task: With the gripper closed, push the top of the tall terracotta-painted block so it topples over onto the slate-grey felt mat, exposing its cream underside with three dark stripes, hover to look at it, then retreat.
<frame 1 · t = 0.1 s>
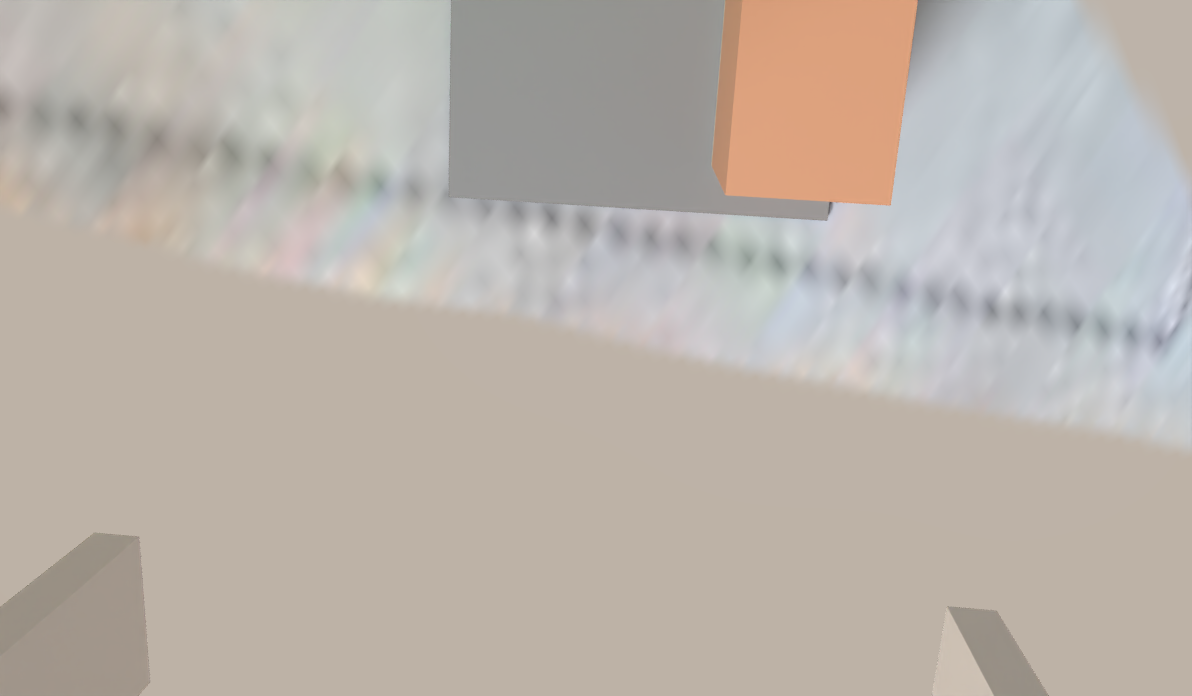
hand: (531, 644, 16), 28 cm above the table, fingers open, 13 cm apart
mat: (644, 73, 40), on the table
block: (780, 81, 40), resting on mat
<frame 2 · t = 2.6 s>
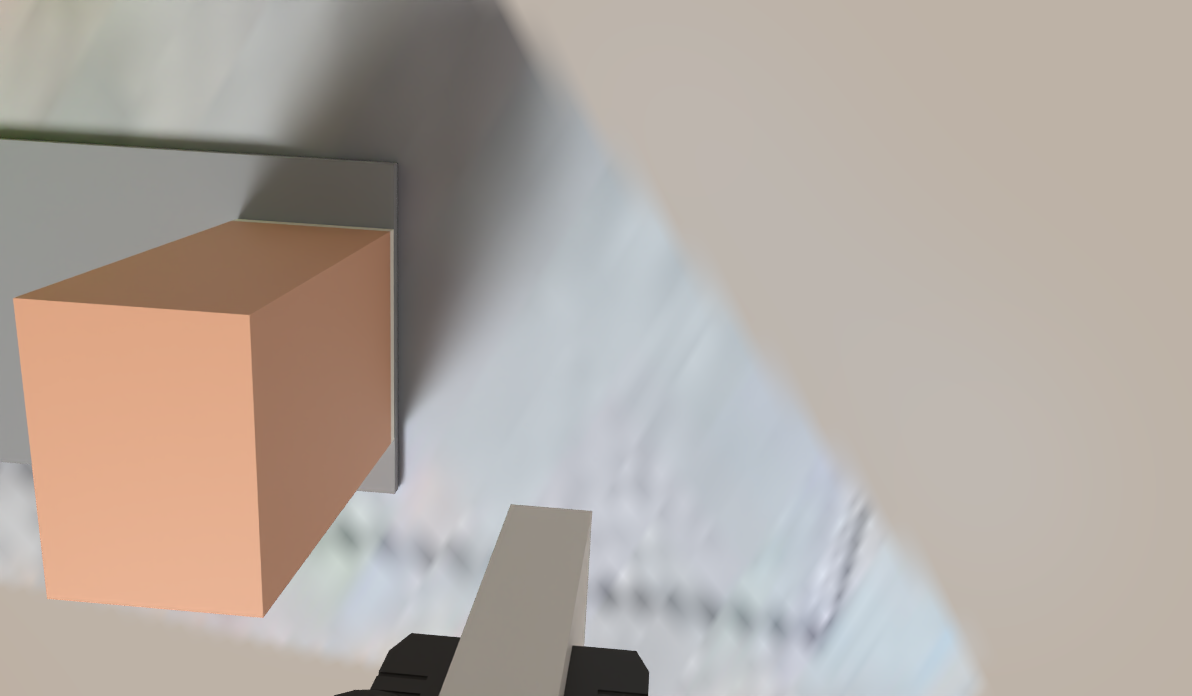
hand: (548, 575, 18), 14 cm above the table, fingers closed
mat: (158, 316, 32), on the table
block: (317, 331, 32), resting on mat
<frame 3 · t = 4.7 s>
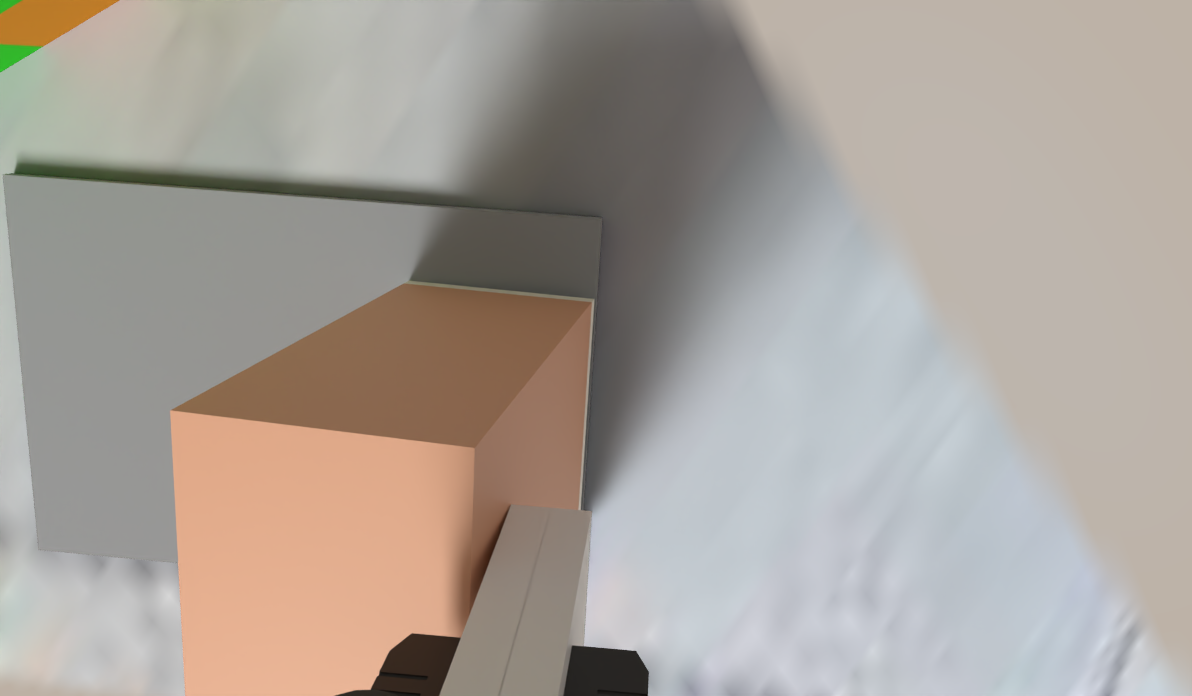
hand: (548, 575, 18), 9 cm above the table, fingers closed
mat: (305, 391, 28), on the table
block: (495, 415, 27), point 1 cm above the table, tilted 5°, touching gripper, mat
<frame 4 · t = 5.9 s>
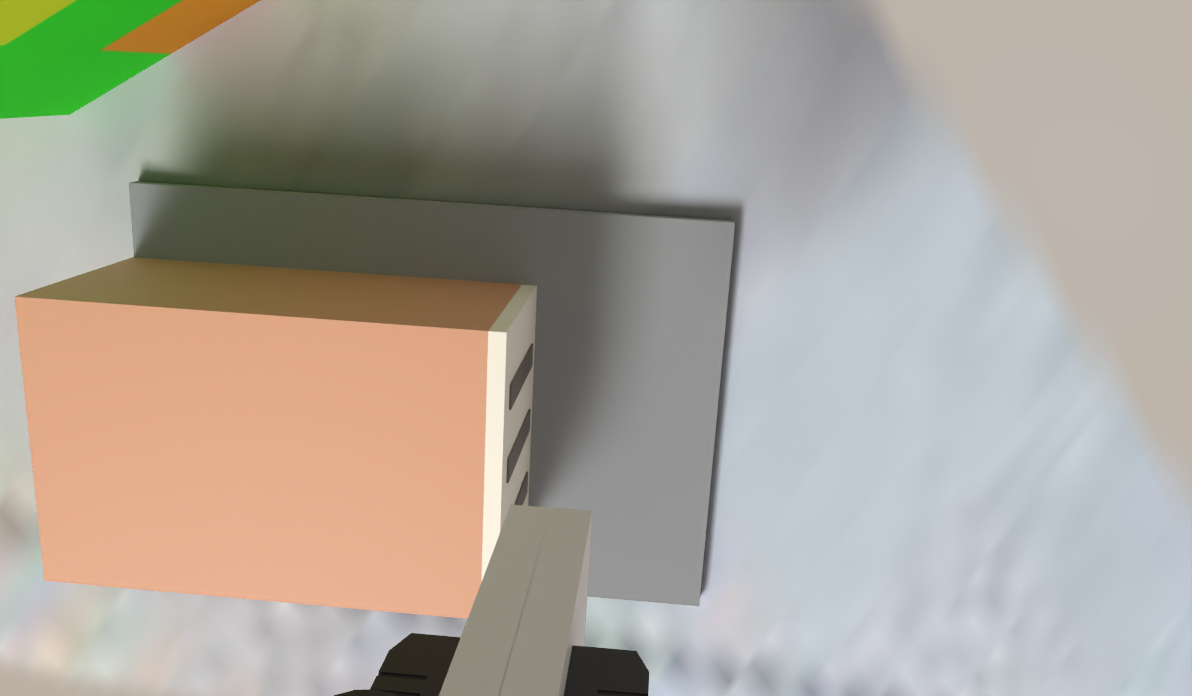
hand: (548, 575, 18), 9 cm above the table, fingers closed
mat: (428, 397, 27), on the table
block: (518, 443, 24), point 3 cm above the table, tilted 90°, touching mat
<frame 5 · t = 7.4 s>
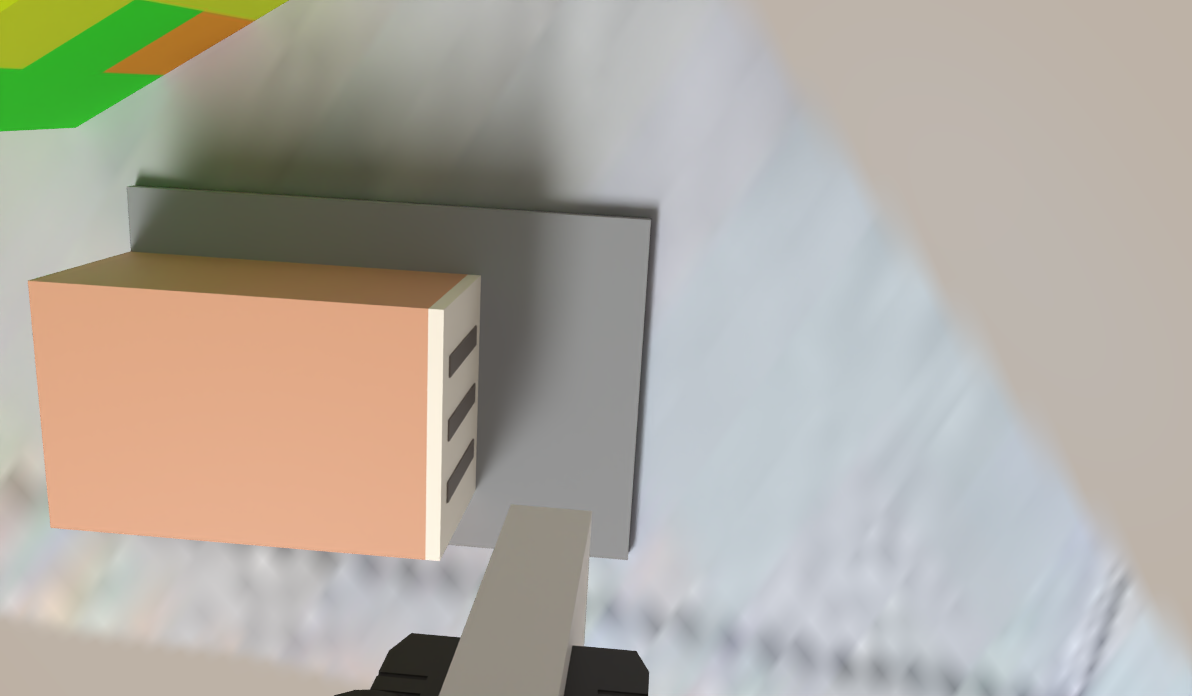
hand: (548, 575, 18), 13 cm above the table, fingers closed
mat: (388, 375, 31), on the table
block: (461, 410, 28), point 3 cm above the table, tilted 90°, touching mat
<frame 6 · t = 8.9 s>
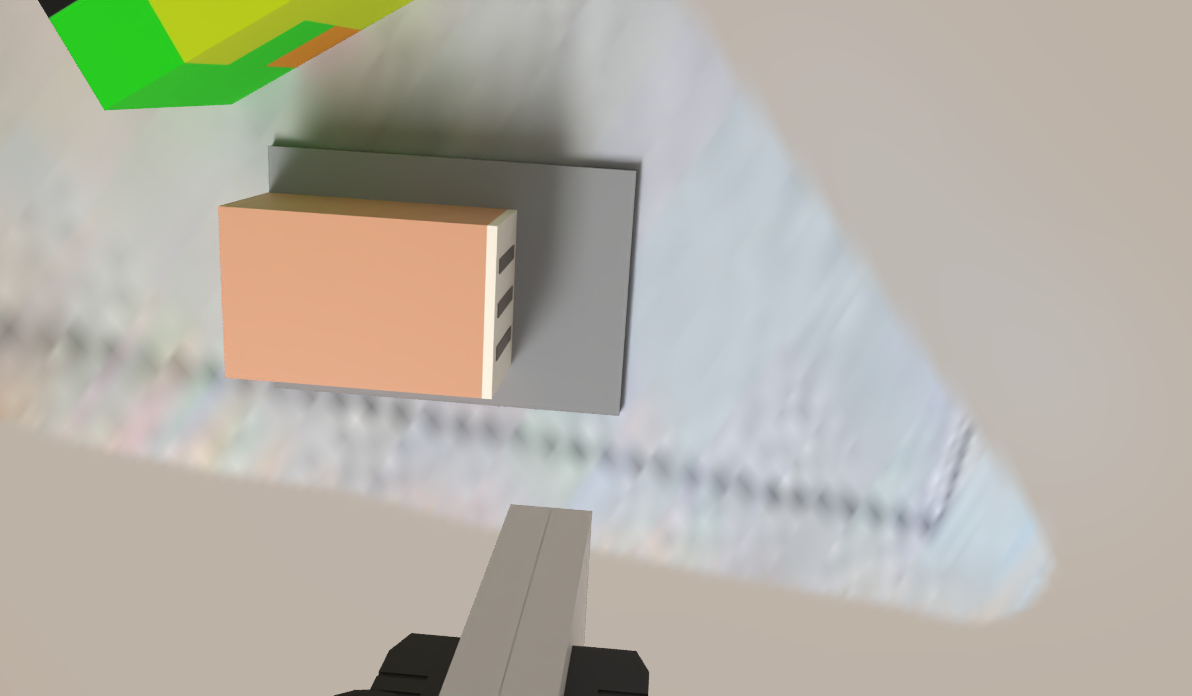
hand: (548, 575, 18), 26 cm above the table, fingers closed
mat: (449, 282, 44), on the table
block: (504, 301, 41), point 3 cm above the table, tilted 90°, touching mat
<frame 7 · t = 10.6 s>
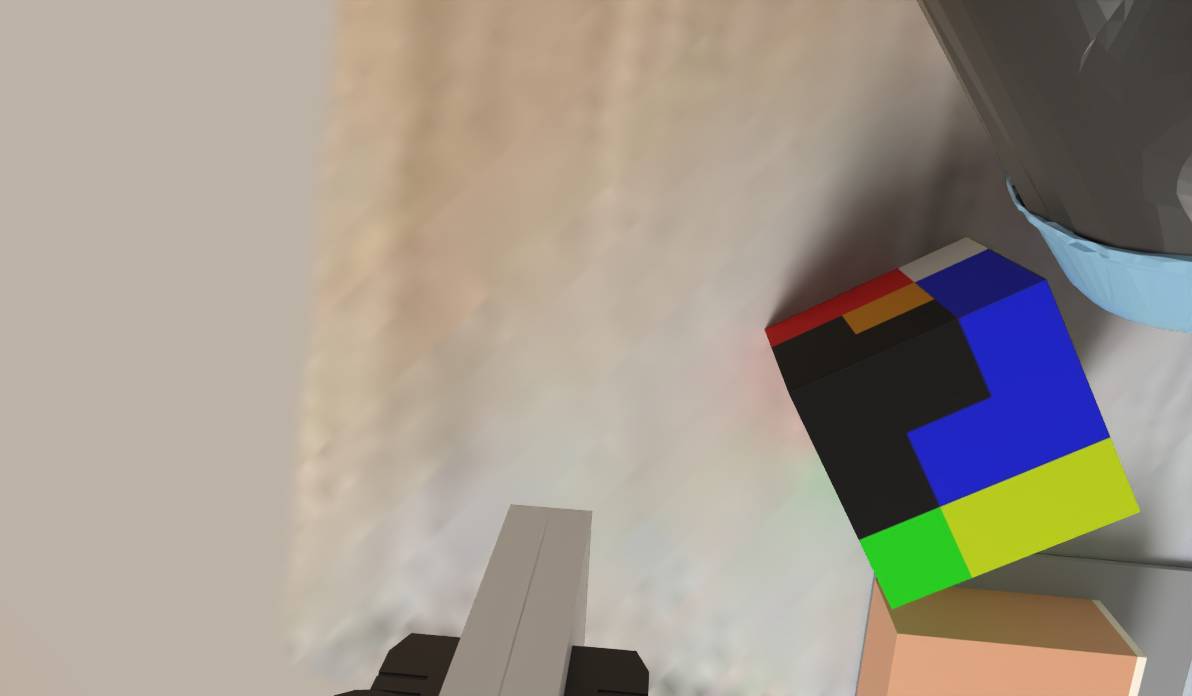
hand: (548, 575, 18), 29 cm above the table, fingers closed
mat: (1022, 652, 50), on the table
puzzle toy: (903, 375, 47), on the table
block: (1106, 692, 47), point 3 cm above the table, tilted 90°, touching mat
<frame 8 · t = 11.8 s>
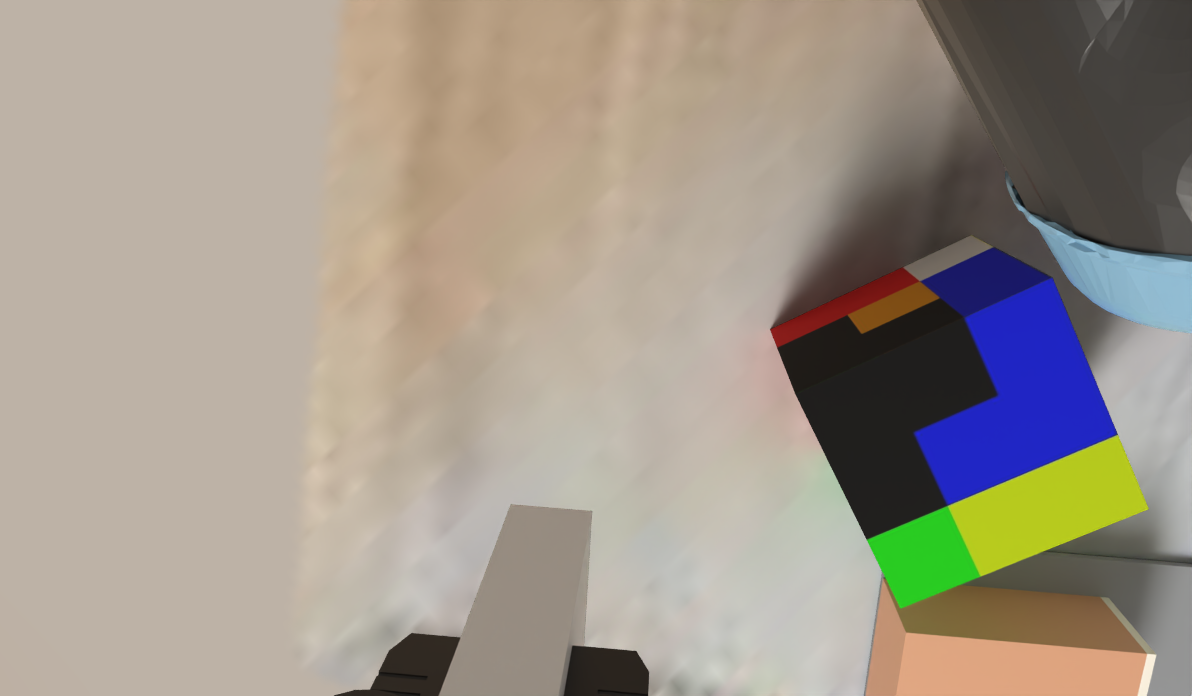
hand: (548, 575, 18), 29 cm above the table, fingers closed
mat: (1031, 650, 50), on the table
puzzle toy: (909, 373, 47), on the table
block: (1116, 689, 47), point 3 cm above the table, tilted 90°, touching mat
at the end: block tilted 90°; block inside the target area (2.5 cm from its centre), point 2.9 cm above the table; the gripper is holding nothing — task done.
